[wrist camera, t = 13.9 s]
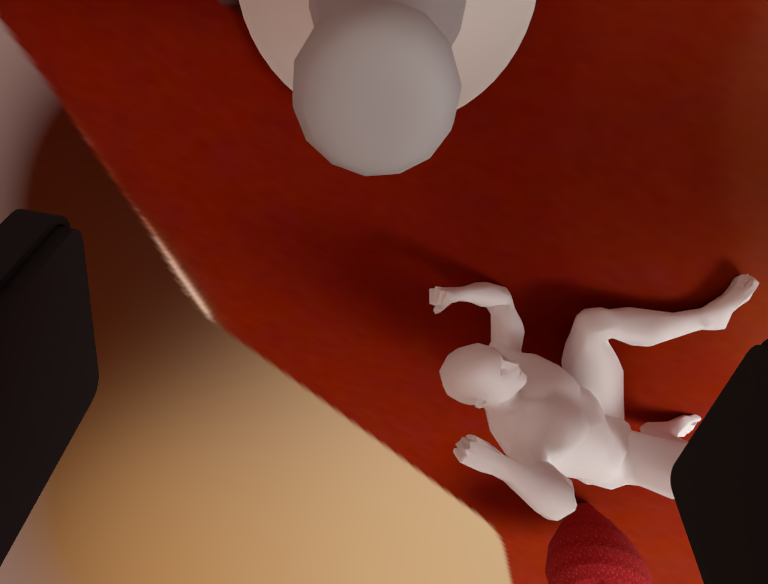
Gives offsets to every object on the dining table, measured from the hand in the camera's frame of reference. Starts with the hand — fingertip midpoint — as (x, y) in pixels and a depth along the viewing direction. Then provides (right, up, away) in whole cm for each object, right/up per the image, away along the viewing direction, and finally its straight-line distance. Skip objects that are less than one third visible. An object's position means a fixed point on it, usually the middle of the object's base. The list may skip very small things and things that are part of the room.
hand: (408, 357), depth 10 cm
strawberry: (+14, -14, +38) cm, 43 cm away
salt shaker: (0, +13, +17) cm, 22 cm away
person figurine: (+11, -2, +30) cm, 32 cm away
